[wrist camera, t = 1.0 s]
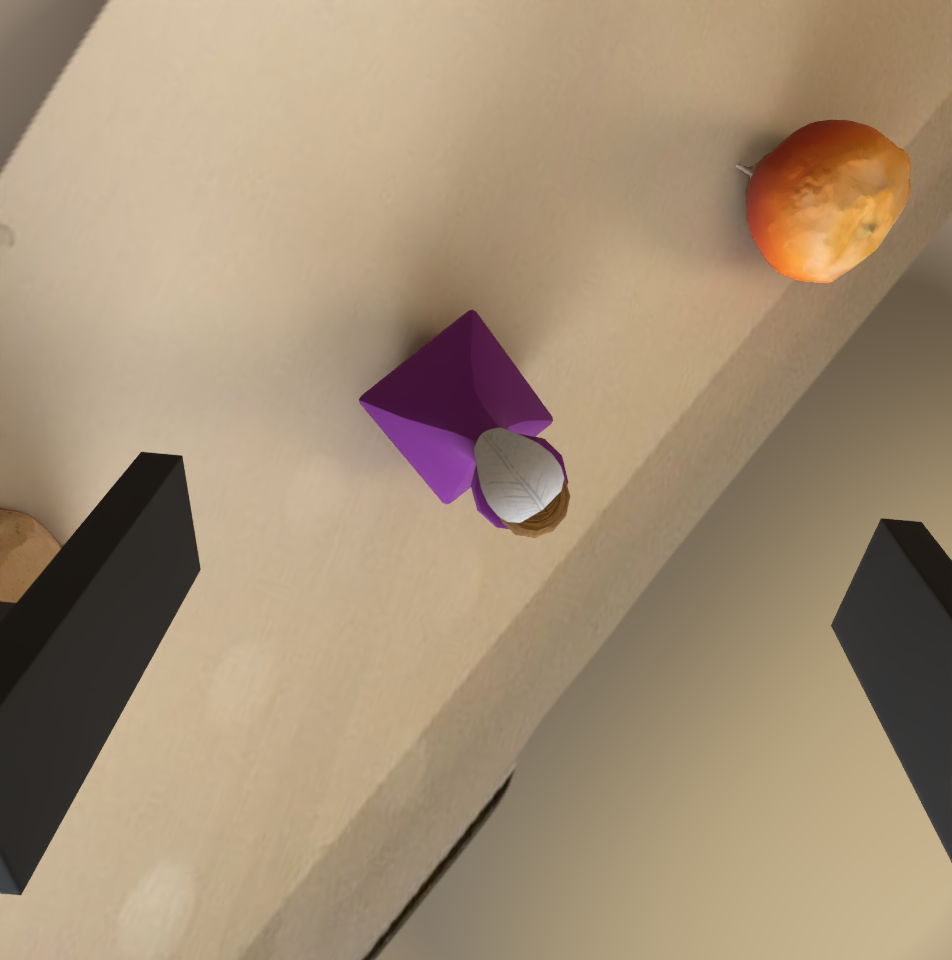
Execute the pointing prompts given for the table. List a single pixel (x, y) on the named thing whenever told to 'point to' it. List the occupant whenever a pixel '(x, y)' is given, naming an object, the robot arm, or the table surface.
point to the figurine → (22, 553)
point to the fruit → (826, 198)
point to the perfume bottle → (474, 428)
